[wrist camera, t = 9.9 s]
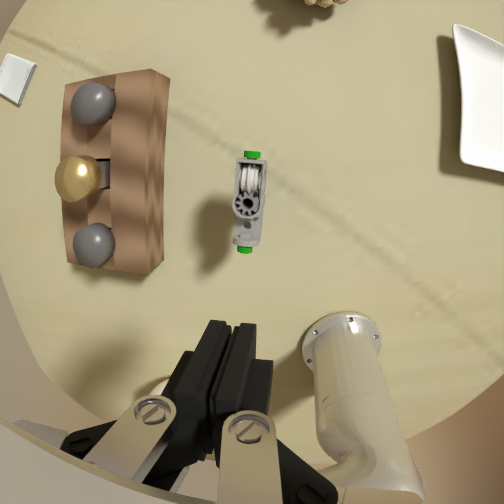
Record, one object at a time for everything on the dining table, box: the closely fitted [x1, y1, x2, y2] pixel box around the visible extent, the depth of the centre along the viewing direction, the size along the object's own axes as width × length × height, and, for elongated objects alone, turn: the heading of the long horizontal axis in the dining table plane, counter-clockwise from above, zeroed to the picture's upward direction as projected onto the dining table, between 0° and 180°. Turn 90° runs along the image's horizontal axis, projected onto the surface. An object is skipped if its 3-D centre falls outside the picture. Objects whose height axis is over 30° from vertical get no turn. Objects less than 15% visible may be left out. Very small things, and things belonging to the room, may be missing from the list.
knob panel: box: [61, 69, 170, 275], centre depth 37 cm, size 26×14×6 cm, turn 176°
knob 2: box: [73, 223, 116, 268], centre depth 38 cm, size 5×5×8 cm
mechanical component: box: [232, 151, 267, 254], centre depth 34 cm, size 3×10×10 cm, turn 175°
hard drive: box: [0, 53, 38, 105], centre depth 36 cm, size 2×8×12 cm
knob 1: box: [70, 82, 116, 125], centre depth 32 cm, size 5×5×8 cm
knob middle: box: [55, 155, 110, 202], centre depth 32 cm, size 5×5×8 cm
